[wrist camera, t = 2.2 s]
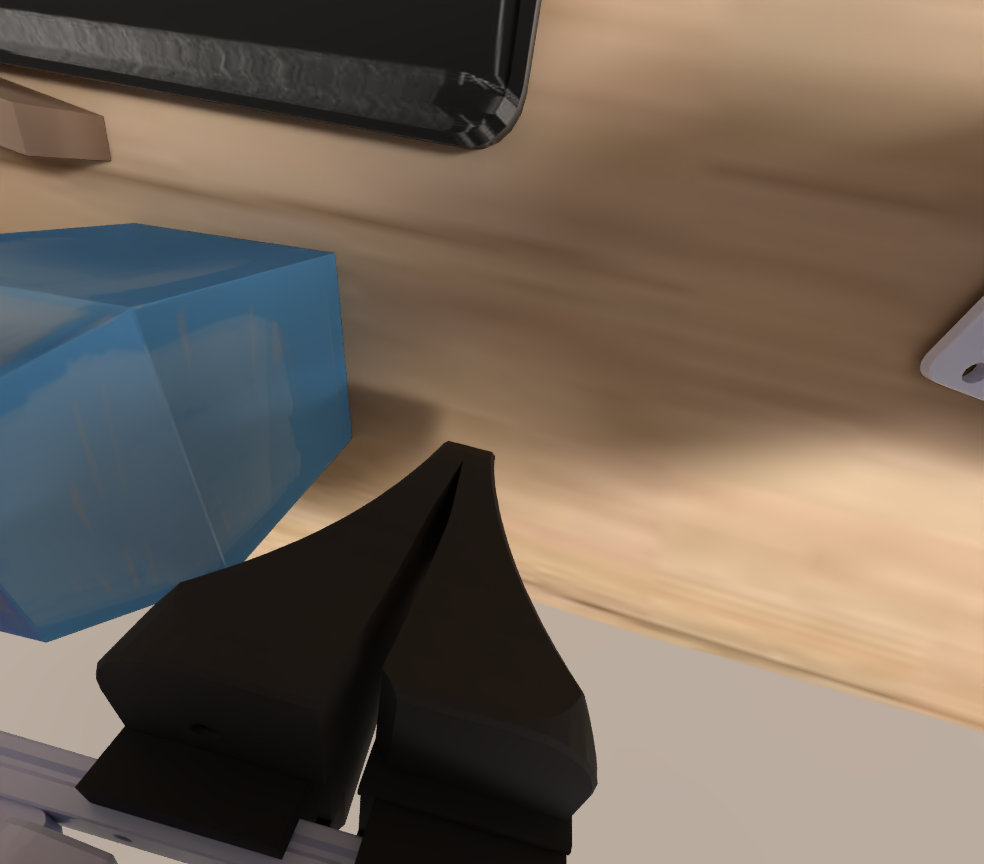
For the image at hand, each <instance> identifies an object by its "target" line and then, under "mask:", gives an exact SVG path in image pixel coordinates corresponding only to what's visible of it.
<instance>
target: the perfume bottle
mask: <svg viewBox="0 0 984 864" xmlns="http://www.w3.org/2000/svg"><path fill="white" fill-rule="evenodd" d="M351 439H352V432H351V421H350V410H349V399H348V389H347V378H346V367H345V356H344V345H343V335H342V324H341V313H340V302H339V291H338V280H337V270H336V259H335V253H332V252H325V251H319V250H312V249H305V248H298V247H291V246H285V245H278V244H271V243H264V242H258V241H251V240H244V239H237V238H231V237H224V236H217V235H210V234H203V233H197V232H190V231H183V230H176V229H170V228H163V227H156V226H149V225H142V224H136V223H131V224H118V225H106V226H93V227H80V228H67V229H55V230H42V231H29V232H16V233H4V234H0V631H2V632H6V633H10V634H14V635H18V636H22V637H26V638H30V639H34V640H38V641H42V642H49V641H52V640H55V639H58V638H61V637H63V636H66V635H69V634H72V633H75V632H78V631H80V630H83V629H86V628H89V627H91V626H94V625H97V624H100V623H103V622H106V621H109V620H111V619H114V618H117V617H120V616H122V615H125V614H128V613H131V612H134V611H137V610H140V609H143V608H145V607H148V606H151V605H154V604H156V603H157V602H158V601H159V600H160V599H162V598H163V597H164V596H165V595H166V594H167V593H169V592H170V591H171V590H172V589H173V588H174V587H175V586H176V585H178V584H179V583H180V582H183V581H186V580H189V579H193V578H196V577H199V576H202V575H205V574H208V573H211V572H215V571H218V570H221V569H224V568H227V567H230V566H233V565H236V564H239V563H242V562H244V561H245V560H246V559H247V558H248V556H249V555H250V554H251V553H252V552H253V551H254V550H255V548H256V547H257V546H258V545H259V544H260V543H261V542H262V540H263V539H264V538H265V537H266V536H267V535H268V534H269V532H270V531H271V530H272V529H273V528H274V527H275V526H276V524H277V523H278V522H279V521H280V520H281V519H282V518H283V516H284V515H285V514H286V513H287V512H288V511H289V510H290V508H291V507H292V506H293V505H294V504H295V503H296V502H297V500H298V499H299V498H300V497H301V496H302V495H303V494H304V492H305V491H306V490H307V489H308V488H309V487H310V486H311V484H312V483H313V482H314V481H315V480H316V479H317V478H318V476H319V475H320V474H321V473H322V472H323V471H324V470H325V468H326V467H327V466H328V465H329V464H330V463H331V462H332V460H333V459H334V458H335V457H336V456H337V455H338V454H339V452H340V451H341V450H342V449H343V448H344V447H345V446H346V444H347V443H348V442H349V441H350V440H351Z"/></svg>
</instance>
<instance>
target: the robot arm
mask: <svg viewBox="0 0 984 864" xmlns="http://www.w3.org/2000/svg"><path fill="white" fill-rule="evenodd" d="M974 364H976V367H975V368H974V369H973V371H971V372H970V373H968V374H967V375H965V376H962V374H963V373H964V371H965V370H966V369H967V368H969V367H970V366H972V365H974ZM920 371H921V373H922V375H923V376H925V377H926V378H928V379H930V380H932V381H933V382H935V383H938V384H940V385H943V386H945V387H948V388H951V389H953V390H956V391H959V392H961V393H964V394H967V395H969V396H972V397H975V398H977V399H980V400H982V401H984V296H983V297H982V298H981V299H980V300H979V301H978V302H977V303H976V304H975V305H974V306H973V307H972V308H971V309H970V310H969V311H968V312H967V313H966V314H965V315H964V316H963V317H962V318H961V319H960V320H959V321H958V322H957V323H956V324H955V325H954V326H953V327H952V328H951V329H950V330H949V331H948V332H947V334H946V335H945V336H944V337H943V338H942V339H941V340H940V341H939V342H938V343H937V344H936V345H935V346H934V347H933V348H932V349H931V350H930V351H929V352H928V353H927V354H926V355H925V357H924V358H923V359H922V361H921V365H920ZM494 460H495V456H494V454H493V453H492V452H490V451H486V450H482V449H478V448H474V447H470V446H466V445H462V444H459V443H455V442H451V441H447V442H445V443H444V444H443V445H442V446H441V447H440V448H439V449H438V450H437V451H436V452H435V453H433V454H432V455H431V456H430V457H429V458H428V459H427V460H426V461H425V462H423V463H422V464H421V465H420V466H419V467H417V468H416V469H415V470H414V471H413V472H411V473H410V474H409V475H408V476H406V477H405V478H404V479H403V480H401V481H400V482H399V483H397V484H396V485H394V486H393V487H391V488H390V489H389V490H387V491H386V492H384V493H383V494H382V495H380V496H379V497H377V498H376V499H374V500H373V501H371V502H370V503H368V504H366V505H365V506H363V507H362V508H360V509H358V510H356V511H355V512H353V513H351V514H350V515H348V516H346V517H344V518H342V519H341V520H339V521H337V522H335V523H333V524H331V525H329V526H327V527H325V528H323V529H321V530H319V531H317V532H315V533H313V534H311V535H309V536H307V537H305V538H302V539H300V540H298V541H296V542H293V543H291V544H288V545H286V546H283V547H281V548H279V549H276V550H274V551H271V552H269V553H267V554H264V555H261V556H259V557H256V558H253V559H251V560H248V561H245V562H242V563H239V564H236V565H233V566H230V567H227V568H224V569H221V570H218V571H215V572H211V573H208V574H205V575H202V576H199V577H196V578H193V579H189V580H186V581H183V582H180V583H179V584H178V585H176V586H175V587H174V588H173V589H172V590H171V591H170V592H169V593H167V594H166V595H165V596H164V597H163V598H162V599H160V600H159V601H158V602H157V603H156V604H155V605H154V606H153V607H152V608H151V609H150V610H149V611H148V612H147V613H146V614H145V615H144V616H143V617H142V618H141V619H140V620H139V621H138V622H137V623H136V624H135V625H134V626H133V627H132V628H131V629H130V630H129V631H128V632H127V633H126V634H125V635H124V636H123V637H122V638H121V639H120V640H119V641H118V642H117V643H116V644H115V645H114V646H113V647H112V648H111V649H110V650H109V651H108V652H107V653H106V654H105V655H104V656H103V657H102V659H100V660H99V662H98V663H97V670H96V679H97V682H98V684H99V686H100V689H101V691H102V692H103V693H104V695H105V696H106V698H107V699H108V701H109V702H110V704H111V705H112V707H113V708H114V710H115V711H116V713H117V714H118V716H119V717H120V719H121V720H122V722H123V723H124V725H125V727H124V728H123V729H122V731H121V732H120V733H119V734H118V736H117V737H116V738H115V739H114V740H113V741H112V743H111V744H110V745H109V746H108V747H107V749H106V750H105V751H104V752H103V754H102V755H101V756H100V757H99V759H95V758H92V757H88V756H84V755H81V754H78V753H75V752H71V751H68V750H64V749H61V748H57V747H54V746H51V745H47V744H44V743H41V742H37V741H34V740H30V739H27V738H24V737H20V736H17V735H13V734H10V733H6V732H3V731H0V864H118V863H117V861H116V860H115V858H114V856H113V855H112V854H110V853H108V852H105V851H103V850H100V849H98V848H95V847H93V846H91V845H88V844H86V843H83V842H81V841H78V840H76V839H73V838H71V837H69V836H66V835H63V833H62V826H65V827H68V828H71V829H75V830H78V831H81V832H85V833H88V834H91V835H95V836H98V837H101V838H104V839H108V840H111V841H115V842H118V843H121V844H125V845H128V846H131V847H135V848H138V849H141V850H144V851H148V852H151V853H154V854H158V855H161V856H164V857H168V858H171V859H174V860H178V861H181V862H184V863H188V864H566V855H569V854H570V853H571V848H572V815H573V814H574V813H575V812H576V811H577V810H578V809H579V808H580V806H581V805H582V804H583V803H584V802H585V801H586V800H587V799H588V798H589V797H590V796H591V795H592V794H593V792H594V790H595V788H596V786H597V762H596V752H595V745H594V739H593V733H592V727H591V722H590V717H589V713H588V708H587V704H586V700H585V696H584V693H583V692H582V690H581V688H580V687H579V685H578V684H577V682H576V681H575V679H574V678H573V676H572V674H571V673H570V671H569V670H568V668H567V666H566V665H565V663H564V661H563V660H562V658H561V656H560V655H559V653H558V651H557V650H556V648H555V646H554V644H553V643H552V641H551V639H550V637H549V635H548V633H547V632H546V630H545V628H544V626H543V624H542V622H541V620H540V618H539V616H538V614H537V612H536V610H535V608H534V606H533V604H532V601H531V599H530V597H529V595H528V593H527V591H526V589H525V587H524V585H523V582H522V580H521V577H520V575H519V572H518V570H517V567H516V565H515V562H514V559H513V556H512V553H511V551H510V548H509V544H508V541H507V538H506V535H505V531H504V527H503V523H502V519H501V515H500V511H499V505H498V500H497V495H496V488H495V478H494ZM376 725H377V730H376V739H375V742H374V745H373V747H372V750H371V753H370V756H369V759H368V762H367V764H366V767H365V770H364V773H363V776H362V779H361V782H360V785H359V788H358V795H361V798H360V815H359V830H358V833H357V835H353V834H350V833H347V832H343V831H340V830H339V829H340V828H341V827H342V826H343V825H345V822H346V819H347V816H348V813H349V810H350V806H351V803H352V800H353V797H354V794H355V790H356V787H357V784H358V781H359V778H360V774H361V771H362V768H363V765H364V762H365V759H366V756H367V753H368V750H369V746H370V743H371V740H372V737H373V734H374V731H375V728H376ZM60 825H61V826H60Z"/></svg>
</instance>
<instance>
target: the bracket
mask: <svg viewBox="0 0 984 864" xmlns="http://www.w3.org/2000/svg"><path fill="white" fill-rule="evenodd" d="M0 146H2V147H5V148H8V149H10V150H13V151H16V152H18V153H21V154H24V155H26V156H41V157H57V158H73V159H89V160H105V161H111V158H110V153H109V147H108V142H107V136H106V130H105V125H104V119H103V116H101V115H98V114H96V113H93V112H90V111H88V110H85V109H82V108H80V107H77V106H74V105H72V104H69V103H66V102H64V101H61V100H58V99H56V98H53V97H50V96H48V95H45V94H42V93H40V92H37V91H34V90H32V89H29V88H26V87H24V86H21V85H18V84H16V83H13V82H10V81H8V80H5V79H2V78H0Z"/></svg>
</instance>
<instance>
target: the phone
mask: <svg viewBox="0 0 984 864" xmlns="http://www.w3.org/2000/svg"><path fill="white" fill-rule="evenodd" d="M540 6H541V0H0V64H6V65H11V66H17V67H22V68H27V69H33V70H38V71H44V72H49V73H55V74H60V75H66V76H71V77H77V78H82V79H88V80H93V81H99V82H104V83H110V84H115V85H121V86H126V87H132V88H137V89H143V90H148V91H154V92H159V93H165V94H170V95H176V96H181V97H187V98H192V99H197V100H203V101H208V102H214V103H219V104H225V105H230V106H236V107H241V108H247V109H252V110H258V111H263V112H269V113H274V114H280V115H285V116H291V117H296V118H302V119H307V120H313V121H318V122H324V123H329V124H335V125H340V126H346V127H351V128H356V129H362V130H367V131H373V132H378V133H384V134H389V135H395V136H400V137H406V138H411V139H417V140H422V141H428V142H433V143H439V144H444V145H450V146H455V147H461V148H466V149H484V148H487V147H489V146H491V145H494V144H496V143H498V142H499V141H501V140H502V139H503V138H504V137H505V136H506V135H507V134H508V133H509V132H510V131H511V130H512V129H513V127H514V125H515V124H516V122H517V120H518V118H519V117H520V115H521V113H522V109H523V106H524V102H525V99H526V95H527V89H528V83H529V77H530V70H531V64H532V58H533V51H534V45H535V38H536V32H537V26H538V19H539V13H540Z"/></svg>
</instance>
